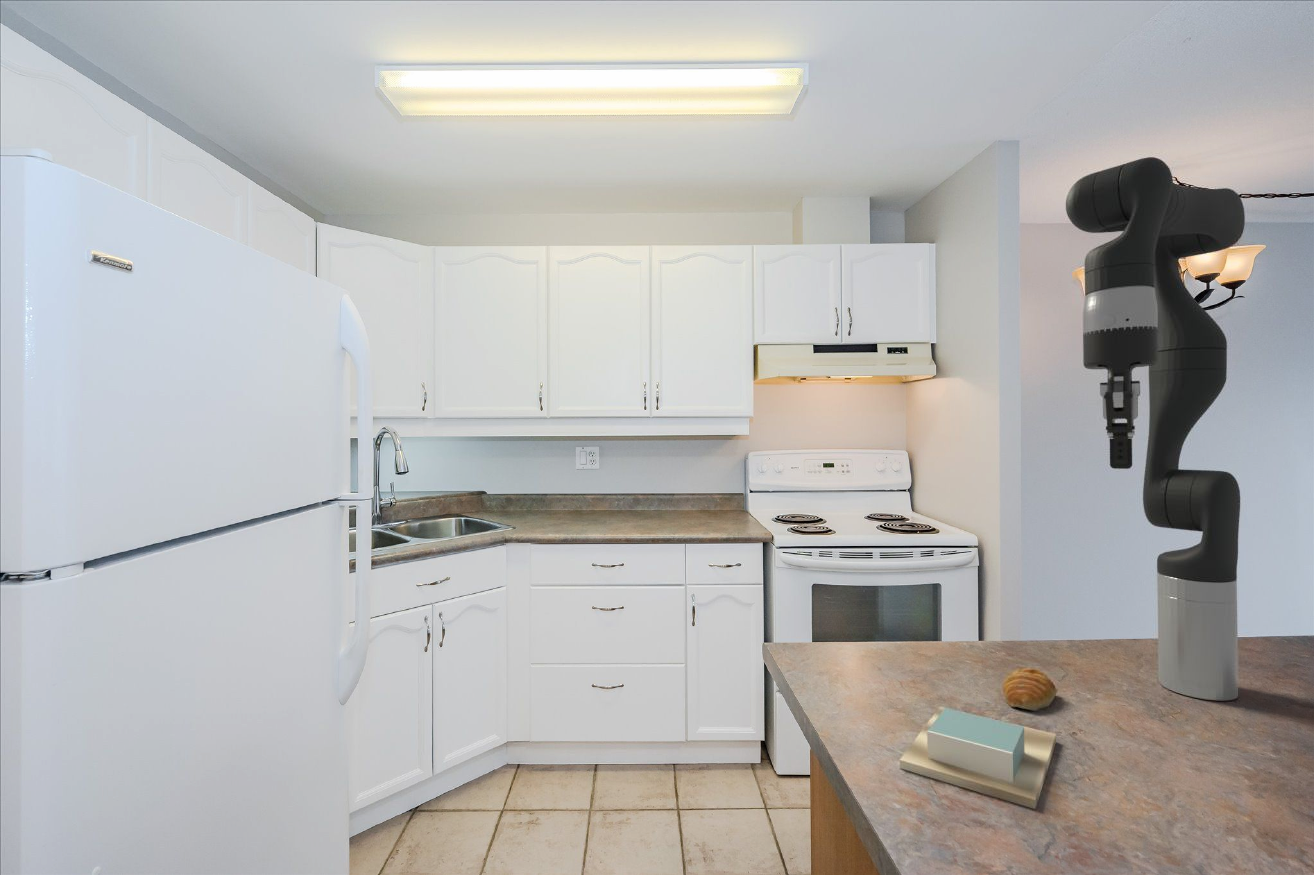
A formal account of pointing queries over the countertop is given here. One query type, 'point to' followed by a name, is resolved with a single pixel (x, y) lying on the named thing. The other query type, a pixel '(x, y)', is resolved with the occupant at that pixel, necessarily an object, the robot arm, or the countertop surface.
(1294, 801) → the countertop surface
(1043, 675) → the pastry
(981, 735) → the slab
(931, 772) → the board
